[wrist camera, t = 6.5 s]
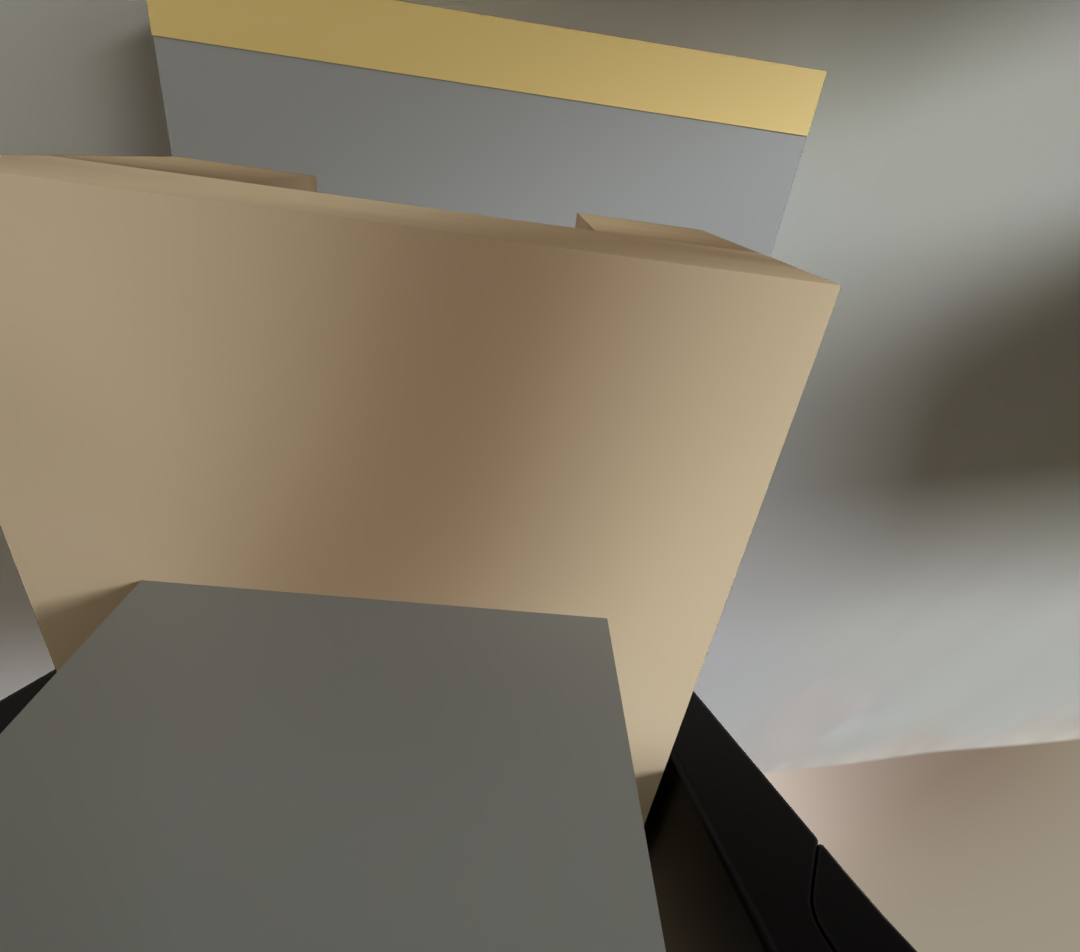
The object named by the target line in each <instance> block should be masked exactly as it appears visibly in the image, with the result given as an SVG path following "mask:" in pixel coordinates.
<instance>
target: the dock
mask: <svg viewBox="0 0 1080 952" xmlns="http://www.w3.org/2000/svg"><path fill="white" fill-rule="evenodd" d="M146 2H147V8H148V14H149V21H150V27H151V34H152V35H153V40H154V46H155V52H156V59H157V65H158V71H159V78H160V84H161V91H162V97H163V103H164V110H165V116H166V122H167V129H168V135H169V142H170V148H171V154H172V157H184V158H191V159H198V160H205V161H212V162H220V163H227V164H234V165H241V166H248V167H255V168H262V169H270V170H277V171H284V172H291V173H298V174H305V175H313V176H316V183H317V193H324V194H332V195H339V196H346V197H353V198H361V199H368V200H375V201H383V202H390V203H397V204H404V205H412V206H419V207H426V208H433V209H441V210H448V211H455V212H463V213H470V214H477V215H484V216H492V217H499V218H506V219H513V220H521V221H528V222H535V223H543V224H550V225H557V226H564V227H572V228H575V224H576V217H577V213H585V214H592V215H599V216H606V217H613V218H620V219H628V220H635V221H642V222H649V223H656V224H663V225H670V226H678V227H685V228H692V229H699V230H703V231H705V232H708V233H710V234H713V235H715V236H718V237H720V238H723V239H726V240H728V241H731V242H733V243H736V244H738V245H741V246H743V247H746V248H748V249H751V250H753V251H756V252H758V253H761V254H763V255H766V256H768V257H770V256H771V253H772V250H773V246H774V243H775V240H776V236H777V233H778V230H779V226H780V223H781V220H782V216H783V213H784V210H785V207H786V203H787V200H788V197H789V193H790V190H791V187H792V183H793V180H794V177H795V173H796V170H797V167H798V163H799V160H800V157H801V153H802V150H803V147H804V143H805V140H806V137H807V136H808V133H809V129H810V126H811V123H812V119H813V116H814V113H815V109H816V106H817V103H818V99H819V96H820V93H821V89H822V86H823V83H824V79H825V76H826V73H827V71H822V70H816V69H810V68H803V67H797V66H791V65H785V64H779V63H773V62H767V61H761V60H755V59H749V58H743V57H737V56H730V55H724V54H718V53H712V52H706V51H700V50H694V49H688V48H682V47H676V46H670V45H664V44H657V43H651V42H645V41H639V40H633V39H627V38H621V37H615V36H609V35H603V34H597V33H591V32H584V31H578V30H572V29H566V28H560V27H554V26H548V25H542V24H536V23H530V22H524V21H518V20H511V19H505V18H499V17H493V16H487V15H481V14H475V13H469V12H463V11H457V10H451V9H445V8H438V7H432V6H426V5H420V4H414V3H408V2H402V1H396V0H146Z"/></svg>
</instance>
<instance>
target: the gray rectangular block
mask: <svg viewBox="0 0 1080 952" xmlns="http://www.w3.org/2000/svg"><path fill="white" fill-rule="evenodd" d="M0 952H666V950H665V944H664V938H663V932H662V927H661V921H660V915H659V910H658V904H657V898H656V893H655V887H654V881H653V876H652V870H651V864H650V859H649V853H648V847H647V842H646V836H645V830H644V825H643V819H642V813H641V808H640V802H639V796H638V791H637V785H636V779H635V774H634V768H633V762H632V757H631V751H630V745H629V739H628V734H627V728H626V722H625V717H624V711H623V705H622V700H621V694H620V688H619V683H618V677H617V671H616V666H615V660H614V654H613V649H612V643H611V637H610V632H609V626H608V620H607V618H598V617H585V616H573V615H561V614H549V613H537V612H524V611H512V610H500V609H488V608H476V607H463V606H451V605H439V604H427V603H415V602H402V601H390V600H378V599H366V598H354V597H341V596H329V595H317V594H305V593H293V592H281V591H268V590H256V589H244V588H232V587H220V586H207V585H195V584H183V583H171V582H159V581H146V580H141V581H140V582H139V583H138V584H137V586H136V587H135V588H134V589H133V590H132V591H131V592H130V593H129V594H128V595H127V596H126V597H125V599H124V600H123V601H122V602H121V603H120V604H119V605H118V606H117V607H116V608H115V609H114V611H113V612H112V613H111V614H110V615H109V616H108V617H107V618H106V619H105V620H104V621H103V623H102V624H101V625H100V626H99V627H98V628H97V629H96V630H95V631H94V632H93V633H92V635H91V636H90V637H89V638H88V639H87V640H86V641H85V642H84V643H83V644H82V645H81V647H80V648H79V649H78V650H77V651H76V652H75V653H74V654H73V655H72V656H71V657H70V659H69V660H68V661H67V662H66V663H65V664H64V665H63V666H62V667H61V668H60V669H59V671H58V672H57V673H56V674H55V675H54V676H53V677H52V678H51V679H50V680H49V681H48V683H47V684H46V685H45V686H44V687H43V688H42V689H41V690H40V691H39V692H38V693H37V694H36V696H35V697H34V698H33V699H32V700H31V701H30V702H29V703H28V704H27V705H26V706H25V708H24V709H23V710H22V711H21V712H20V713H19V714H18V715H17V716H16V717H15V718H14V720H13V721H12V722H11V723H10V724H9V725H8V726H7V727H6V728H5V729H4V730H3V732H2V733H1V734H0Z"/></svg>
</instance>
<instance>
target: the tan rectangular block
mask: <svg viewBox="0 0 1080 952" xmlns="http://www.w3.org/2000/svg"><path fill="white" fill-rule="evenodd" d="M840 289H841V285H839V284H836V283H834V282H831V281H829V280H826V279H824V278H821V277H819V276H816V275H814V274H811V273H809V272H806V271H804V270H801V269H799V268H796V267H794V266H791V265H788V264H786V263H783V262H781V261H778V260H776V259H773V258H771V257H768V256H766V255H763V254H761V253H758V252H756V251H753V250H751V249H748V248H746V247H743V246H741V245H738V244H736V243H733V242H731V241H728V240H726V239H723V238H720V237H718V236H715V235H713V234H710V233H708V232H705V231H703V230H699V229H692V228H685V227H678V226H670V225H663V224H656V223H649V222H642V221H635V220H628V219H620V218H613V217H606V216H599V215H592V214H585V213H577V217H576V224H575V228H572V227H564V226H557V225H550V224H543V223H535V222H528V221H521V220H513V219H506V218H499V217H492V216H484V215H477V214H470V213H463V212H455V211H448V210H441V209H433V208H426V207H419V206H412V205H404V204H397V203H390V202H383V201H375V200H368V199H361V198H353V197H346V196H339V195H332V194H324V193H317V183H316V176H313V175H305V174H298V173H291V172H284V171H277V170H270V169H262V168H255V167H248V166H241V165H234V164H227V163H220V162H212V161H205V160H198V159H191V158H184V157H156V156H62V155H0V526H1V528H2V531H3V533H4V536H5V539H6V541H7V544H8V546H9V549H10V552H11V554H12V557H13V559H14V562H15V565H16V567H17V570H18V572H19V575H20V578H21V580H22V583H23V585H24V588H25V591H26V593H27V596H28V598H29V601H30V603H31V606H32V609H33V611H34V614H35V616H36V619H37V622H38V624H39V627H40V629H41V632H42V635H43V637H44V640H45V642H46V645H47V648H48V650H49V653H50V655H51V658H52V661H53V663H54V666H55V668H56V671H57V672H58V671H59V669H60V668H61V667H62V666H63V665H64V664H65V663H66V662H67V661H68V660H69V659H70V657H71V656H72V655H73V654H74V653H75V652H76V651H77V650H78V649H79V648H80V647H81V645H82V644H83V643H84V642H85V641H86V640H87V639H88V638H89V637H90V636H91V635H92V633H93V632H94V631H95V630H96V629H97V628H98V627H99V626H100V625H101V624H102V623H103V621H104V620H105V619H106V618H107V617H108V616H109V615H110V614H111V613H112V612H113V611H114V609H115V608H116V607H117V606H118V605H119V604H120V603H121V602H122V601H123V600H124V599H125V597H126V596H127V595H128V594H129V593H130V592H131V591H132V590H133V589H134V588H135V587H136V586H137V584H138V583H139V582H140V581H141V580H146V581H159V582H171V583H183V584H195V585H207V586H220V587H232V588H244V589H256V590H268V591H281V592H293V593H305V594H317V595H329V596H341V597H354V598H366V599H378V600H390V601H402V602H415V603H427V604H439V605H451V606H463V607H476V608H488V609H500V610H512V611H524V612H537V613H549V614H561V615H573V616H585V617H598V618H607V620H608V626H609V632H610V637H611V643H612V649H613V654H614V660H615V666H616V671H617V677H618V683H619V688H620V694H621V700H622V705H623V711H624V717H625V722H626V728H627V734H628V739H629V745H630V751H631V757H632V762H633V768H634V774H635V779H636V785H637V791H638V796H639V802H640V808H641V813H642V819H643V825H644V824H645V821H646V819H647V816H648V813H649V810H650V808H651V805H652V802H653V799H654V797H655V794H656V791H657V789H658V786H659V783H660V780H661V778H662V775H663V772H664V769H665V767H666V764H667V761H668V759H669V756H670V753H671V750H672V748H673V745H674V742H675V739H676V737H677V734H678V731H679V729H680V726H681V723H682V720H683V718H684V715H685V712H686V709H687V707H688V704H689V701H690V698H691V696H692V693H693V690H694V688H695V685H696V682H697V679H698V677H699V674H700V671H701V668H702V666H703V663H704V660H705V658H706V655H707V652H708V649H709V647H710V644H711V641H712V638H713V636H714V633H715V630H716V628H717V625H718V622H719V619H720V617H721V614H722V611H723V608H724V606H725V603H726V600H727V598H728V595H729V592H730V589H731V587H732V584H733V581H734V578H735V576H736V573H737V570H738V568H739V565H740V562H741V559H742V557H743V554H744V551H745V548H746V546H747V543H748V540H749V538H750V535H751V532H752V529H753V527H754V524H755V521H756V518H757V516H758V513H759V510H760V507H761V505H762V502H763V499H764V497H765V494H766V491H767V488H768V486H769V483H770V480H771V477H772V475H773V472H774V469H775V467H776V464H777V461H778V458H779V456H780V453H781V450H782V447H783V445H784V442H785V439H786V437H787V434H788V431H789V428H790V426H791V423H792V420H793V417H794V415H795V412H796V409H797V407H798V404H799V401H800V398H801V396H802V393H803V390H804V387H805V385H806V382H807V379H808V377H809V374H810V371H811V368H812V366H813V363H814V360H815V357H816V355H817V352H818V349H819V347H820V344H821V341H822V338H823V336H824V333H825V330H826V327H827V325H828V322H829V319H830V316H831V314H832V311H833V308H834V306H835V303H836V300H837V297H838V295H839V292H840Z"/></svg>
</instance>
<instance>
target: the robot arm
mask: <svg viewBox="0 0 1080 952" xmlns="http://www.w3.org/2000/svg"><path fill="white" fill-rule="evenodd" d="M56 673H57V671H56V669H55V670H53V671H51V672H50V673H48V674H46V675H44V676H43V677H41V678H39V679H37V680H36V681H34V682H32V683H30V684H29V685H27V686H25V687H23V688H22V689H20V690H18V691H16V692H15V693H13V694H11V695H10V696H8V697H6V698H4V699H3V700H1V701H0V734H1V733H2V732H3V730H4V729H5V728H6V727H7V726H8V725H9V724H10V723H11V722H12V721H13V720H14V718H15V717H16V716H17V715H18V714H19V713H20V712H21V711H22V710H23V709H24V708H25V706H26V705H27V704H28V703H29V702H30V701H31V700H32V699H33V698H34V697H35V696H36V694H37V693H38V692H39V691H40V690H41V689H42V688H43V687H44V686H45V685H46V684H47V683H48V681H49V680H50V679H51V678H52V677H53V676H54V675H55V674H56ZM644 830H645V836H646V842H647V847H648V853H649V859H650V864H651V870H652V876H653V881H654V887H655V893H656V898H657V904H658V910H659V915H660V921H661V927H662V932H663V938H664V944H665V950H666V952H917V951H916V950H915V949H914V948H913V947H912V946H911V944H909V942H908V941H907V940H906V939H905V938H904V937H903V936H902V935H901V934H900V933H899V932H898V931H897V930H896V929H895V927H894V926H893V925H892V924H891V923H890V922H889V921H888V920H887V919H886V918H885V917H884V915H882V913H881V912H880V911H879V910H878V909H877V907H876V906H875V905H874V904H873V903H872V902H871V901H870V899H869V898H868V897H867V896H866V895H865V894H864V893H863V891H862V890H861V889H860V888H859V887H858V886H857V885H856V883H854V881H853V880H852V879H851V878H850V877H849V875H848V874H847V873H846V872H845V871H844V870H843V868H842V867H841V866H840V865H839V864H838V863H837V861H836V860H835V859H834V858H833V857H832V855H831V854H830V853H829V852H828V850H827V849H826V848H825V847H824V846H823V845H821V844H820V845H818V840H817V838H816V837H815V835H814V834H813V833H812V832H811V831H810V829H809V828H808V827H807V826H806V825H805V823H804V822H803V821H802V820H801V819H800V818H799V816H798V815H797V814H796V813H795V811H794V810H793V809H792V808H791V807H790V806H789V804H788V803H787V802H786V801H785V800H784V799H783V797H782V796H781V795H780V794H779V793H778V791H777V790H776V789H775V788H774V786H773V785H772V784H771V783H770V782H769V781H768V779H767V778H766V777H765V776H764V775H763V773H762V772H761V771H760V770H759V769H758V767H757V766H756V765H755V764H754V763H753V761H752V760H751V759H750V758H749V757H748V756H747V754H746V753H745V752H744V751H743V750H742V748H741V747H740V746H739V745H738V744H737V742H736V741H735V740H734V739H733V738H732V736H731V735H730V734H729V733H728V732H727V730H726V729H725V728H724V727H723V726H722V725H721V723H720V722H719V721H718V720H717V719H716V717H715V716H714V715H713V714H712V713H711V711H710V710H709V709H708V708H707V707H706V705H705V704H704V703H703V702H702V701H701V700H700V698H699V697H698V696H697V695H696V694H695V692H694V691H693V693H692V696H691V698H690V701H689V704H688V707H687V709H686V712H685V715H684V718H683V720H682V723H681V726H680V729H679V731H678V734H677V737H676V739H675V742H674V745H673V748H672V750H671V753H670V756H669V759H668V761H667V764H666V767H665V769H664V772H663V775H662V778H661V780H660V783H659V786H658V789H657V791H656V794H655V797H654V799H653V802H652V805H651V808H650V810H649V813H648V816H647V819H646V821H645V824H644Z"/></svg>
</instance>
